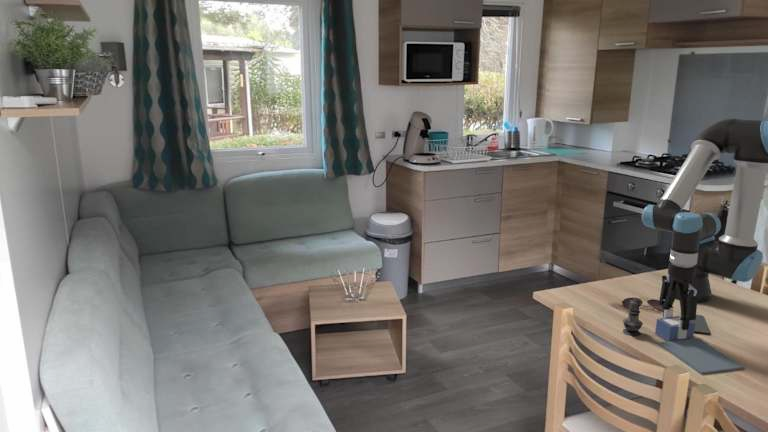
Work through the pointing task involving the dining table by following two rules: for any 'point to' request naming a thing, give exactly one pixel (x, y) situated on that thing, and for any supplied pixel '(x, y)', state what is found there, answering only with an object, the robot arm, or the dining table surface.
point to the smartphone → (700, 325)
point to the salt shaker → (633, 319)
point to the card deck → (672, 328)
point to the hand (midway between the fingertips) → (673, 333)
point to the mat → (700, 356)
